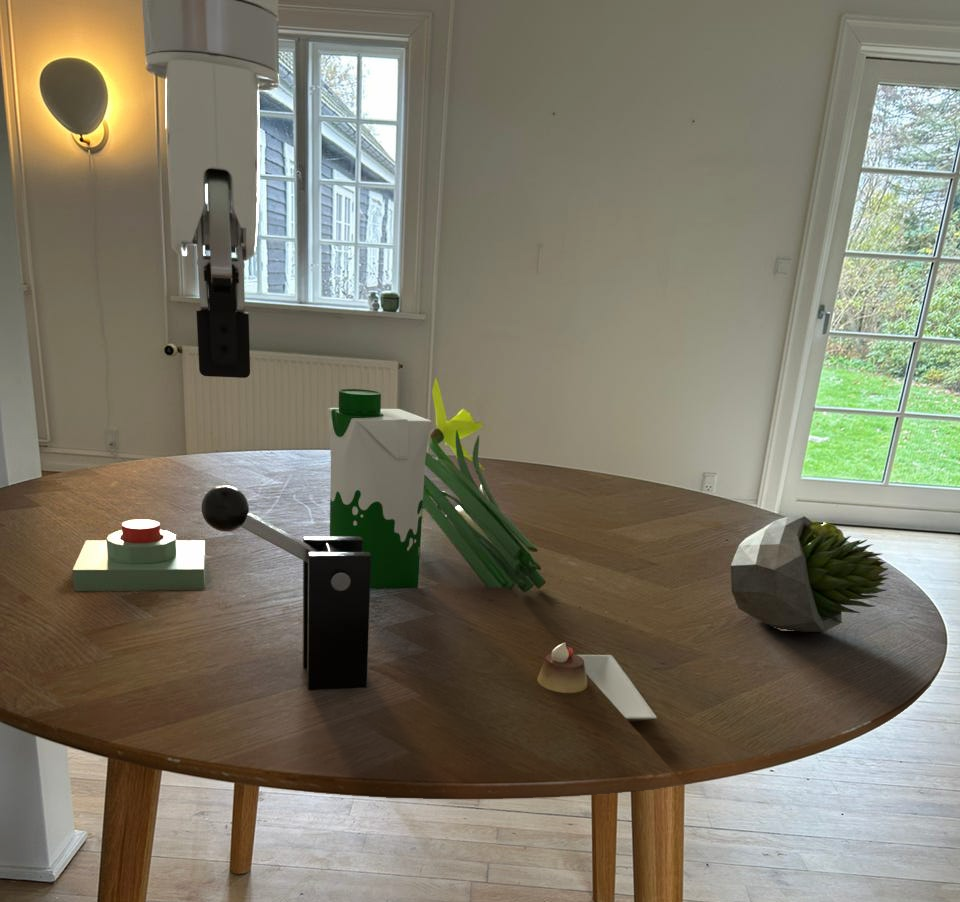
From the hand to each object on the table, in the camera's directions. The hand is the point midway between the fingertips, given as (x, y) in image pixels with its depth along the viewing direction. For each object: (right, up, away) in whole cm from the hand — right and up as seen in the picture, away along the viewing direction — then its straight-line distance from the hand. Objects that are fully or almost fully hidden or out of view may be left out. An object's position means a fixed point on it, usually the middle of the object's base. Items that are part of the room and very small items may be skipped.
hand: (225, 374), depth 58 cm
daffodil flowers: (+15, -7, +48) cm, 51 cm away
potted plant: (+50, -16, +33) cm, 62 cm away
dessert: (+23, -22, +13) cm, 35 cm away
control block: (-18, -11, +32) cm, 38 cm away
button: (-17, -7, +31) cm, 36 cm away
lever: (+2, -12, +6) cm, 13 cm away
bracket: (+5, -22, +11) cm, 25 cm away
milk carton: (+6, -12, +34) cm, 37 cm away
